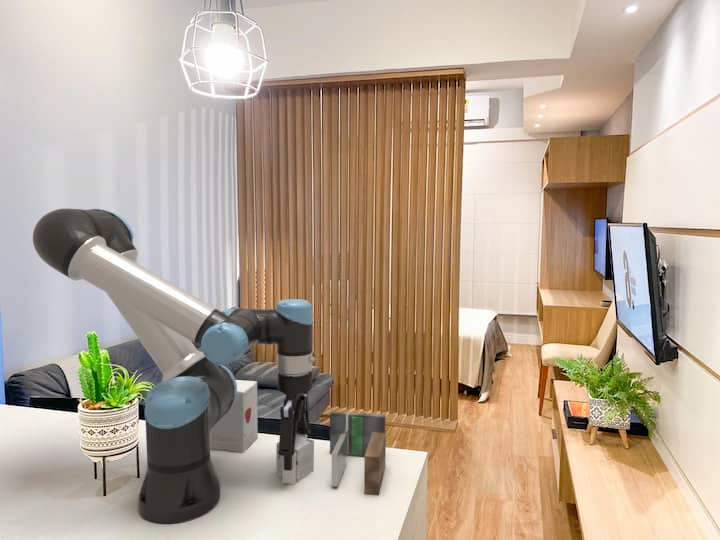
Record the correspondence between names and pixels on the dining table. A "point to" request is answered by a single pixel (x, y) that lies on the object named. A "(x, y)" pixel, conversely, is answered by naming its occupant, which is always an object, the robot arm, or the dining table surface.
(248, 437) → the supplement box
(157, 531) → the dining table surface
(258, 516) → the dining table surface
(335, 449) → the plate
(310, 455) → the skincare box
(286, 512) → the dining table surface
